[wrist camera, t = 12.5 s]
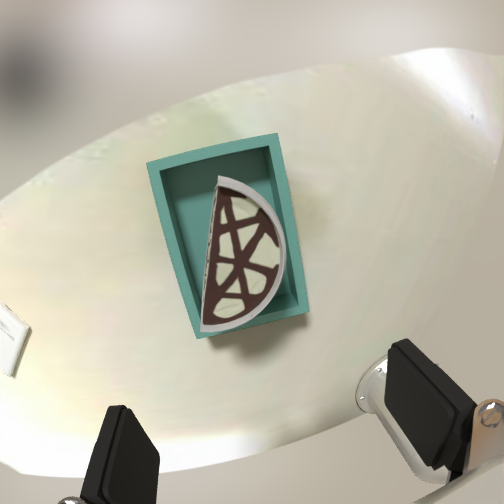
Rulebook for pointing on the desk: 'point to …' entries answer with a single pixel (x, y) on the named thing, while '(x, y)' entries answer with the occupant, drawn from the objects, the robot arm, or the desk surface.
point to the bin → (199, 213)
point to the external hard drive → (10, 338)
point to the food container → (240, 257)
